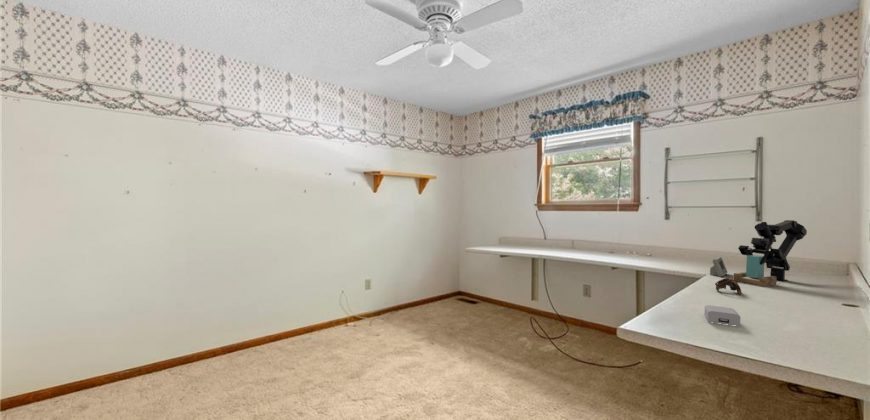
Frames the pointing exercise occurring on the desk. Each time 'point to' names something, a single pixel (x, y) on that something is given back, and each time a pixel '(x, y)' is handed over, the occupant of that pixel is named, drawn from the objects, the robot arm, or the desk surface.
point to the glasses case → (754, 266)
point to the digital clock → (718, 267)
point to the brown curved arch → (729, 282)
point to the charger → (722, 315)
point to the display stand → (755, 280)
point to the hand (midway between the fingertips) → (753, 263)
